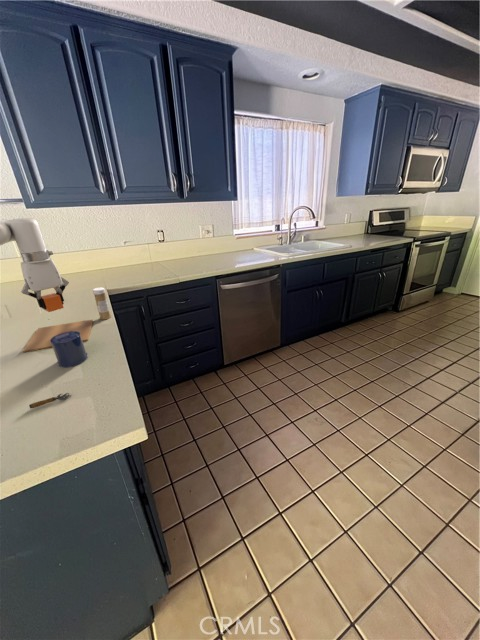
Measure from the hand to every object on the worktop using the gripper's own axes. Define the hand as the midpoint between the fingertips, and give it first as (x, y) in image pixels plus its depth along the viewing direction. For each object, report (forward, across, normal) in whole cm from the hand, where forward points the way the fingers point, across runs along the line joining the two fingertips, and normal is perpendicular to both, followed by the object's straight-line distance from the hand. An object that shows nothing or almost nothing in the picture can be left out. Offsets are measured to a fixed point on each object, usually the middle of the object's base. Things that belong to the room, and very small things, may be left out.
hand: (52, 305), depth 98 cm
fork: (+11, +18, +40) cm, 46 cm away
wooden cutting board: (+12, 0, 0) cm, 12 cm away
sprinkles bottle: (+12, -18, -2) cm, 22 cm away
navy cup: (+12, +6, +23) cm, 27 cm away
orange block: (+1, 0, 0) cm, 1 cm away
